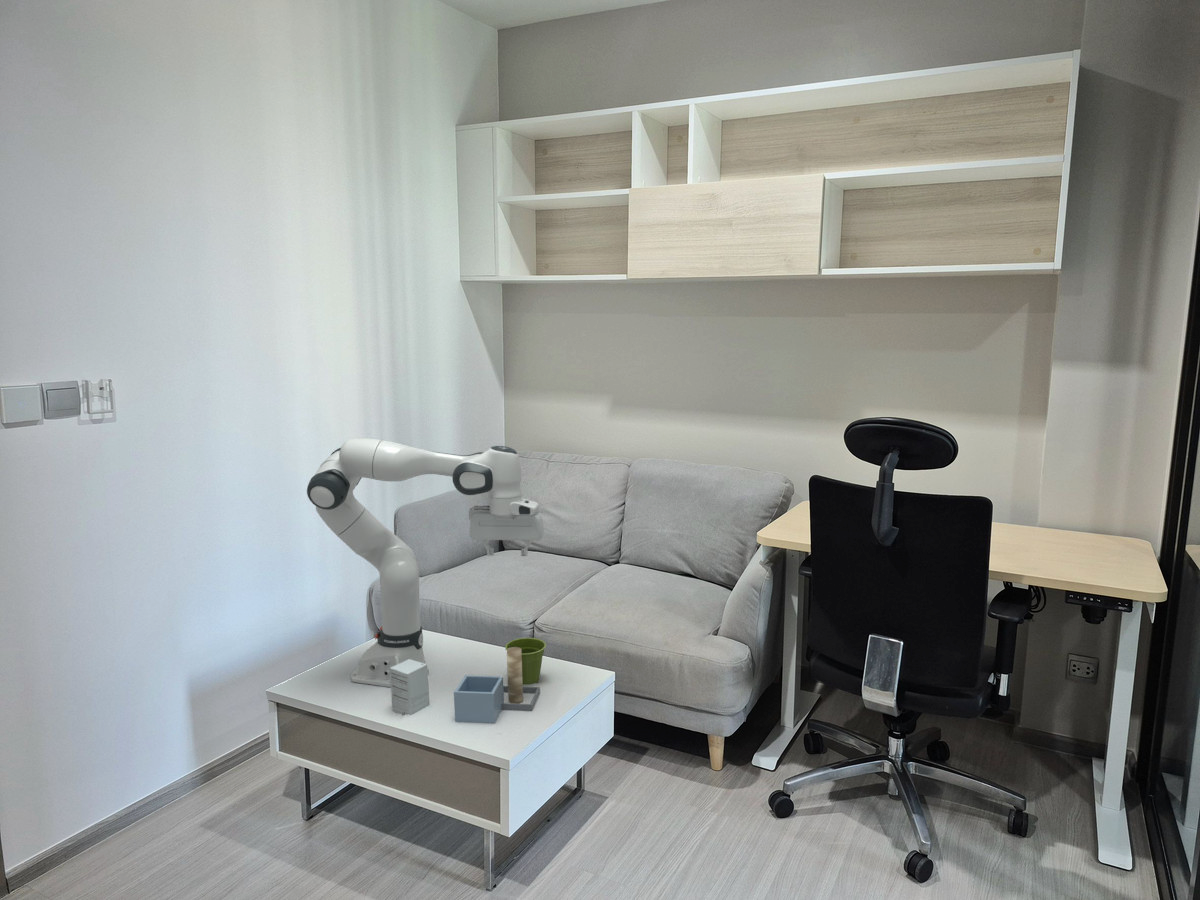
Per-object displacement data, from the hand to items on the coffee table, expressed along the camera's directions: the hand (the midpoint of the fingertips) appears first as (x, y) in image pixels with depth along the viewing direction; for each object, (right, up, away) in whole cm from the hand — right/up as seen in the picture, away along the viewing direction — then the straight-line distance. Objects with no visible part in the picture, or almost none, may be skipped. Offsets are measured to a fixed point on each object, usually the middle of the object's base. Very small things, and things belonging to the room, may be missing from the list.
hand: (507, 555), depth 229 cm
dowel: (+2, -41, +2) cm, 41 cm away
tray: (+2, -41, +2) cm, 41 cm away
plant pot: (+4, -39, +16) cm, 43 cm away
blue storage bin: (-7, -42, -5) cm, 43 cm away
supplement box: (-26, -42, 0) cm, 50 cm away
